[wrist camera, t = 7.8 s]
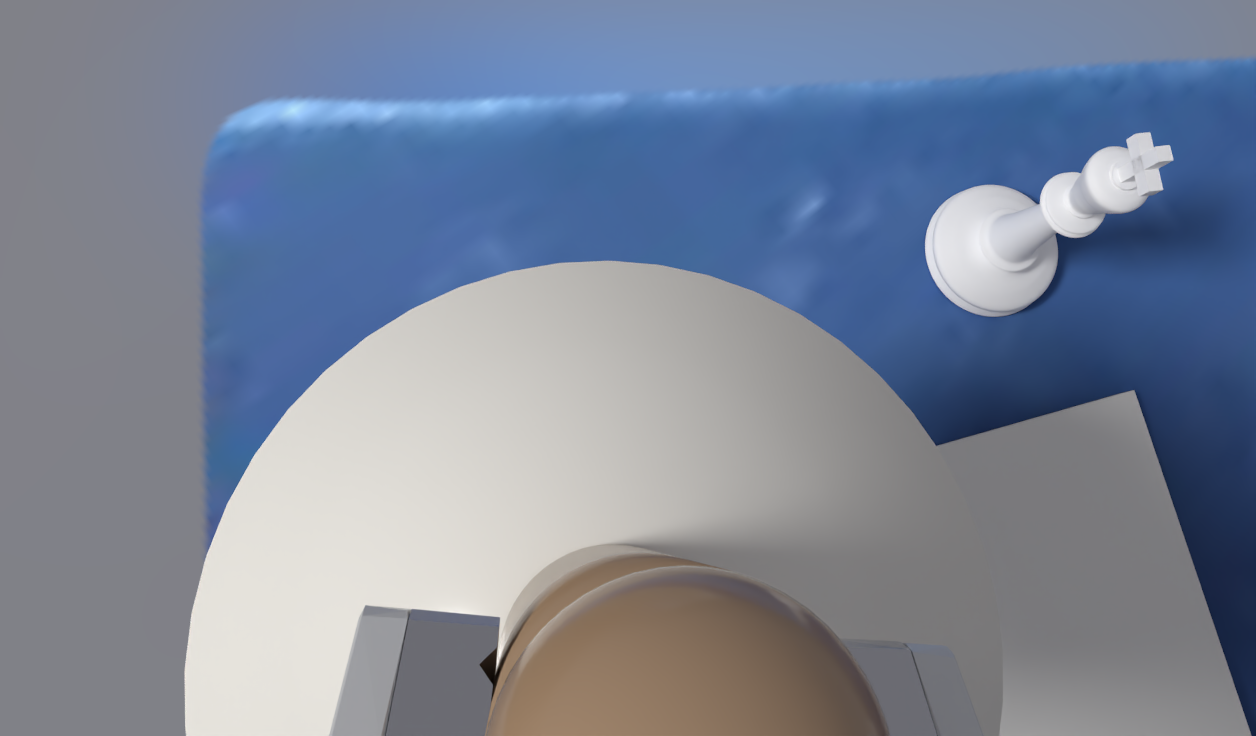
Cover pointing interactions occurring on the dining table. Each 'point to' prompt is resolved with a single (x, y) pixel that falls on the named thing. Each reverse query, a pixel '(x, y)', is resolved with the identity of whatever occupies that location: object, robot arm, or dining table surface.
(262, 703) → the lid
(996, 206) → the chess piece
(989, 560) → the mat
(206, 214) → the dining table surface
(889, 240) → the dining table surface
